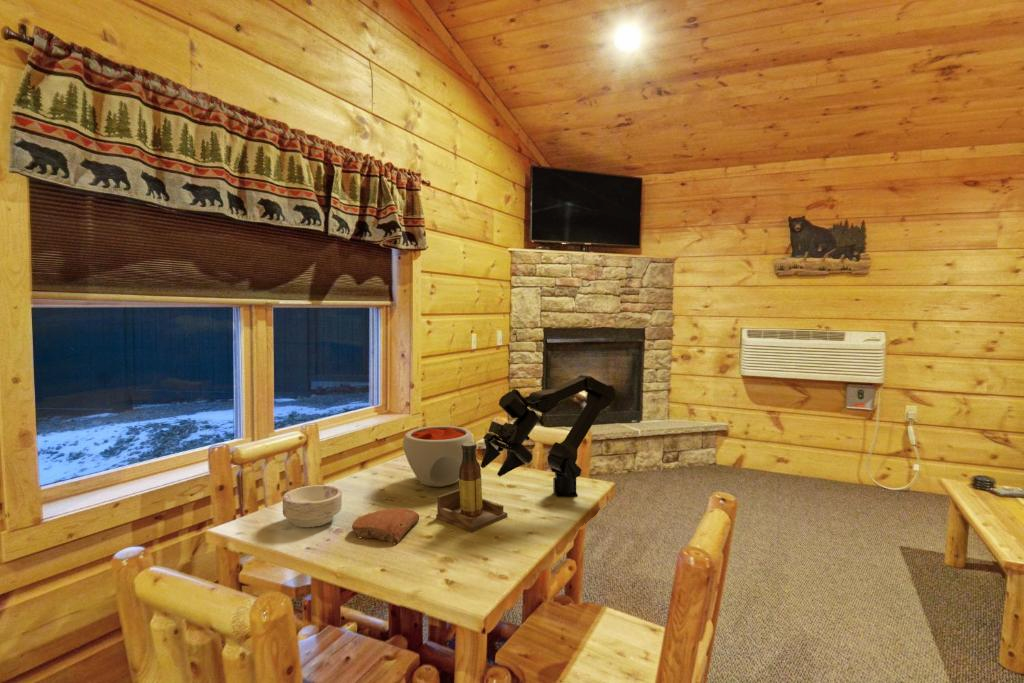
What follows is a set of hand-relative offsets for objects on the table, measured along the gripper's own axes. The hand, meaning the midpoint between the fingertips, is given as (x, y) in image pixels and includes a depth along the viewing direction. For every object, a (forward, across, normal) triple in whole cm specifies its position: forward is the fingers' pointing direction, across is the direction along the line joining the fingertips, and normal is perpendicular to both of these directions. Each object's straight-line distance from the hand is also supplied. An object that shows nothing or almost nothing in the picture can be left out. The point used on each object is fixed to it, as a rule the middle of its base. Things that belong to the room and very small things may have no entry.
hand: (489, 471), depth 153 cm
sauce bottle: (+12, 0, +3) cm, 13 cm away
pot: (+9, -31, +8) cm, 33 cm away
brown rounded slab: (+30, -5, -12) cm, 32 cm away
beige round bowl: (+39, -21, -23) cm, 50 cm away
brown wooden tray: (+13, 0, +4) cm, 13 cm away
